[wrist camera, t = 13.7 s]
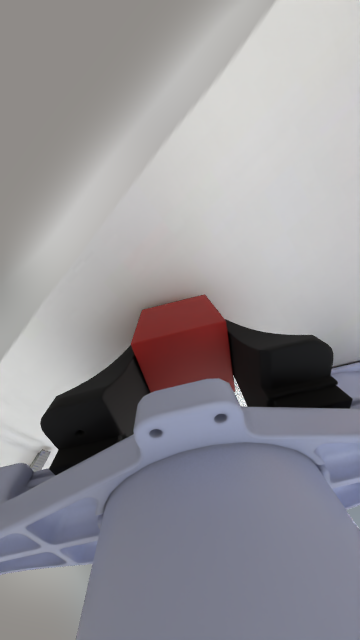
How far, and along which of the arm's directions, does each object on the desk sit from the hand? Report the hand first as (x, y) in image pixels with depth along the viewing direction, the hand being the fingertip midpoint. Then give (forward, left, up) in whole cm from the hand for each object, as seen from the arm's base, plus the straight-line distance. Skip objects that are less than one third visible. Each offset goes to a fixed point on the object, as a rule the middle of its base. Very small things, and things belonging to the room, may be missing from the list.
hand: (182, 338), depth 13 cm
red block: (0, 0, -1) cm, 1 cm away
